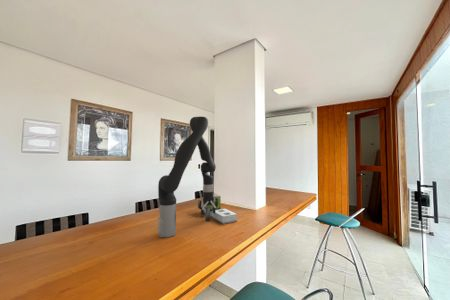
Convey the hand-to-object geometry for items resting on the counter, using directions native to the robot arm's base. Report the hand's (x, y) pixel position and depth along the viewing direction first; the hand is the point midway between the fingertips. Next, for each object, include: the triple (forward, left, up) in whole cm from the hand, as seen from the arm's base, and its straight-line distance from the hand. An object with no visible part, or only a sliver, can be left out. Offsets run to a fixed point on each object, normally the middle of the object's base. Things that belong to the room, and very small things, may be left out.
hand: (208, 213), depth 130 cm
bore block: (+11, -4, -4) cm, 12 cm away
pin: (0, 0, -4) cm, 4 cm away
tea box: (+10, +14, -5) cm, 18 cm away
